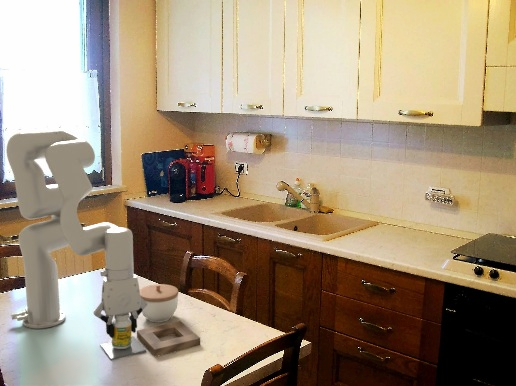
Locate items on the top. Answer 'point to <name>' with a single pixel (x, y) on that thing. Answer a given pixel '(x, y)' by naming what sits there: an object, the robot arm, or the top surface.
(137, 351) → the coaster
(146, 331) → the socket board
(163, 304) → the lidded bowl
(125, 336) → the supplement bottle
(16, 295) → the top surface
